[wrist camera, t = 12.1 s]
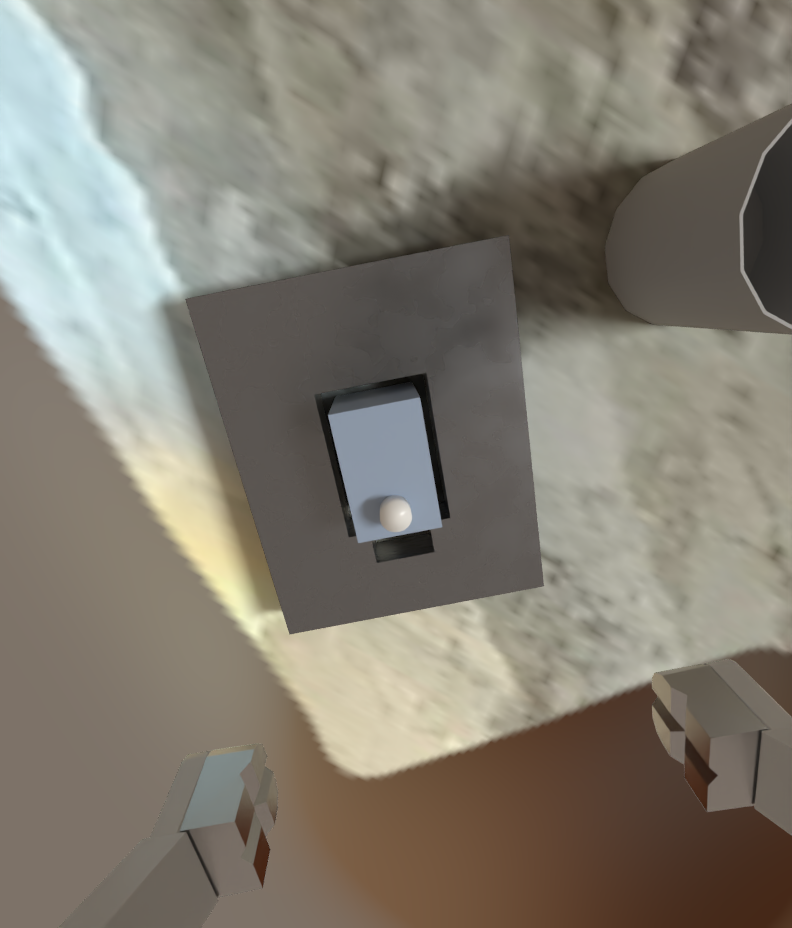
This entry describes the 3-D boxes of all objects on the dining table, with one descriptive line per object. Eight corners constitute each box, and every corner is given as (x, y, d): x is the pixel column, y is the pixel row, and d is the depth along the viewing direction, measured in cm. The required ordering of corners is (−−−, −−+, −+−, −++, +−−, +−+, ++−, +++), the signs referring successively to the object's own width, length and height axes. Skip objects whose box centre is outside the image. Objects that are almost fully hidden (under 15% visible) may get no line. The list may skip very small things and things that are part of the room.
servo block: (411, 381, 28) (422, 401, 22) (435, 513, 30) (449, 561, 25) (335, 396, 28) (326, 419, 22) (365, 526, 30) (363, 577, 25)
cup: (688, 118, 24) (891, -1, 15) (787, 228, 26) (1024, 184, 17) (573, 262, 26) (689, 238, 17) (674, 354, 28) (829, 380, 19)
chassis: (496, 241, 26) (508, 234, 23) (530, 565, 32) (543, 586, 30) (202, 299, 26) (185, 299, 23) (295, 610, 32) (289, 634, 30)
